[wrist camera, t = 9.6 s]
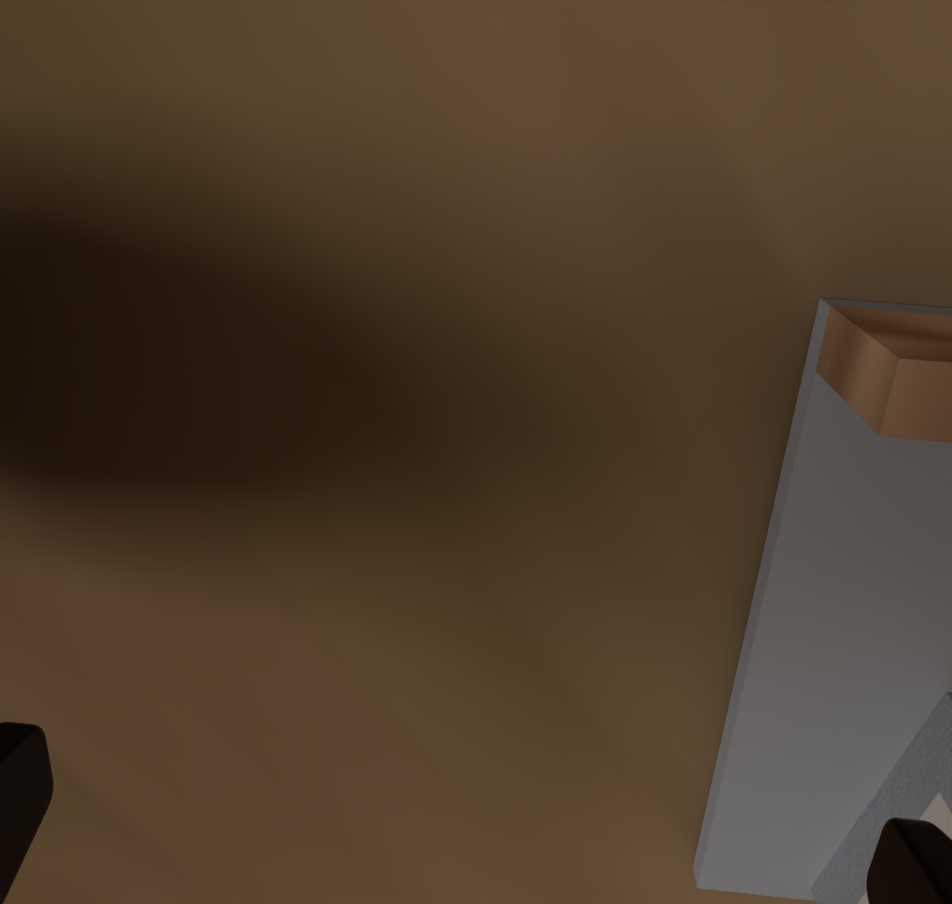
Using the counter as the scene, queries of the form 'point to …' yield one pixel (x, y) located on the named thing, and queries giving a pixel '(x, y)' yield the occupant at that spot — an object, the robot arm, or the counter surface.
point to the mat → (831, 641)
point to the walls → (891, 370)
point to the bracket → (895, 808)
